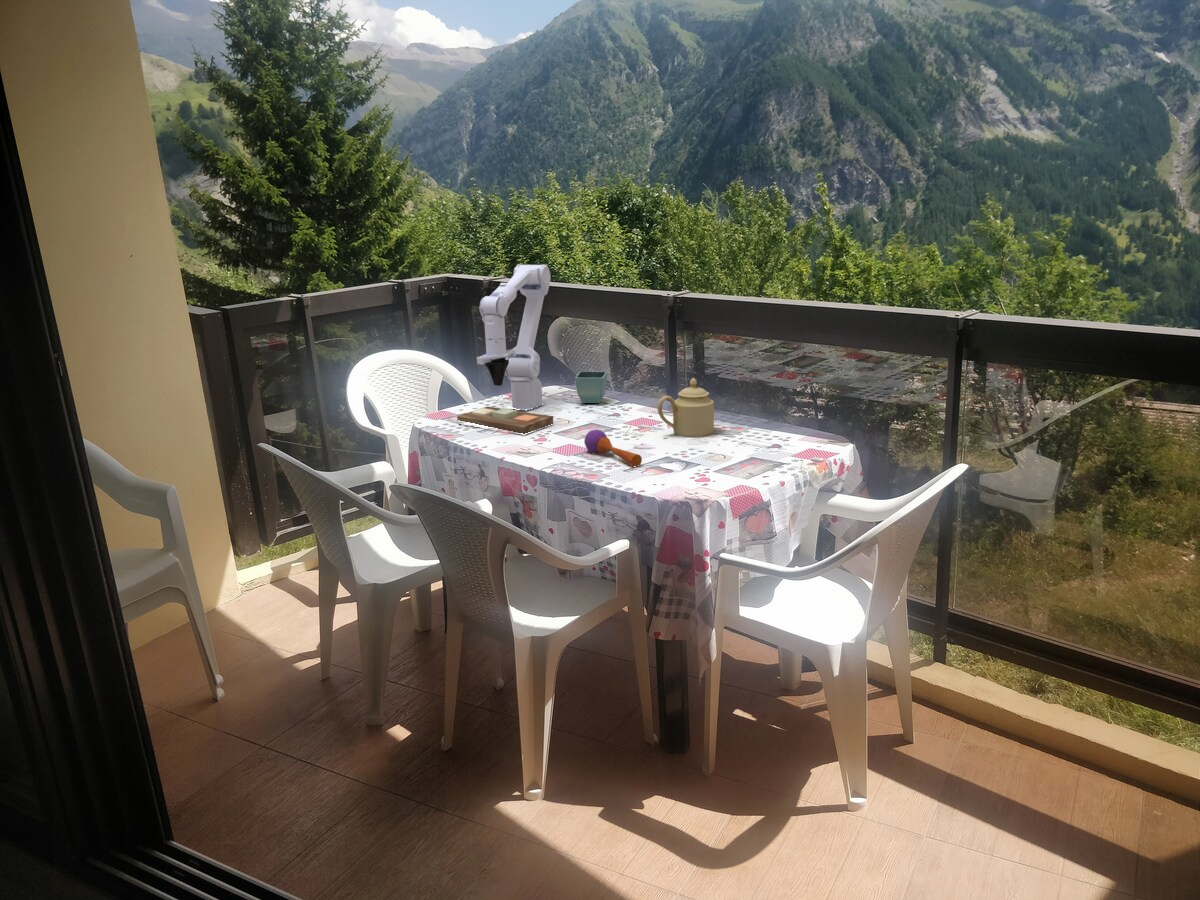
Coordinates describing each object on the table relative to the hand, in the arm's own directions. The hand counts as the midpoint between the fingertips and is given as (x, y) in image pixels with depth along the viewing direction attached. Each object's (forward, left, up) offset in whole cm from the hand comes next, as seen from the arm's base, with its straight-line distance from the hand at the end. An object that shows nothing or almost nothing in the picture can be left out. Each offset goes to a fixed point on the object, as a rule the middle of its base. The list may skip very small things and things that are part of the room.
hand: (498, 385), depth 276 cm
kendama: (+15, +50, -11) cm, 54 cm away
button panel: (+4, +5, -10) cm, 12 cm away
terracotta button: (+4, +13, -10) cm, 17 cm away
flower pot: (-29, +12, -11) cm, 34 cm away
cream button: (+4, -3, -10) cm, 11 cm away
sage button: (+4, +5, -9) cm, 11 cm away
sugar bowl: (-13, +56, -11) cm, 59 cm away
